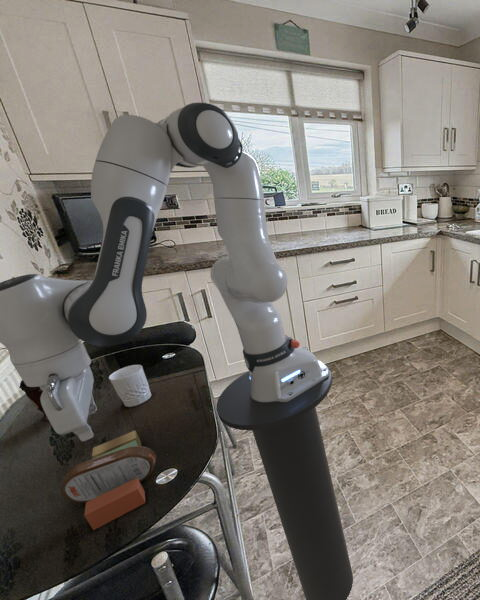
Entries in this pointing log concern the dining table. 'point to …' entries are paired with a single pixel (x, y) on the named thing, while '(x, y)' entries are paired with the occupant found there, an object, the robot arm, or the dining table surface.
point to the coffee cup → (33, 396)
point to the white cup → (131, 385)
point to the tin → (107, 473)
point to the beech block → (115, 444)
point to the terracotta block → (114, 503)
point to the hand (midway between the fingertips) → (90, 424)
